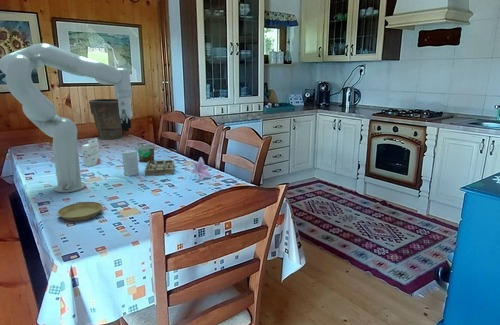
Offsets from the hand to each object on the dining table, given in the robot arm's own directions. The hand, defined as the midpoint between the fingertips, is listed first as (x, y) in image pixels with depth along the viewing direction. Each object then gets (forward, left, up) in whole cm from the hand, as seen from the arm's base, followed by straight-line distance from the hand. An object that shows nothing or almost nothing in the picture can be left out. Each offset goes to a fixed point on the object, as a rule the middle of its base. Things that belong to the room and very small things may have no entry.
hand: (126, 129), depth 172 cm
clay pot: (+113, +30, -23) cm, 119 cm away
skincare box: (0, 0, -23) cm, 23 cm away
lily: (-15, -35, -23) cm, 44 cm away
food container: (+27, -4, -23) cm, 36 cm away
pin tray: (+6, -14, -23) cm, 28 cm away
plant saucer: (-52, +11, -23) cm, 58 cm away
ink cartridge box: (+25, +24, -23) cm, 41 cm away
